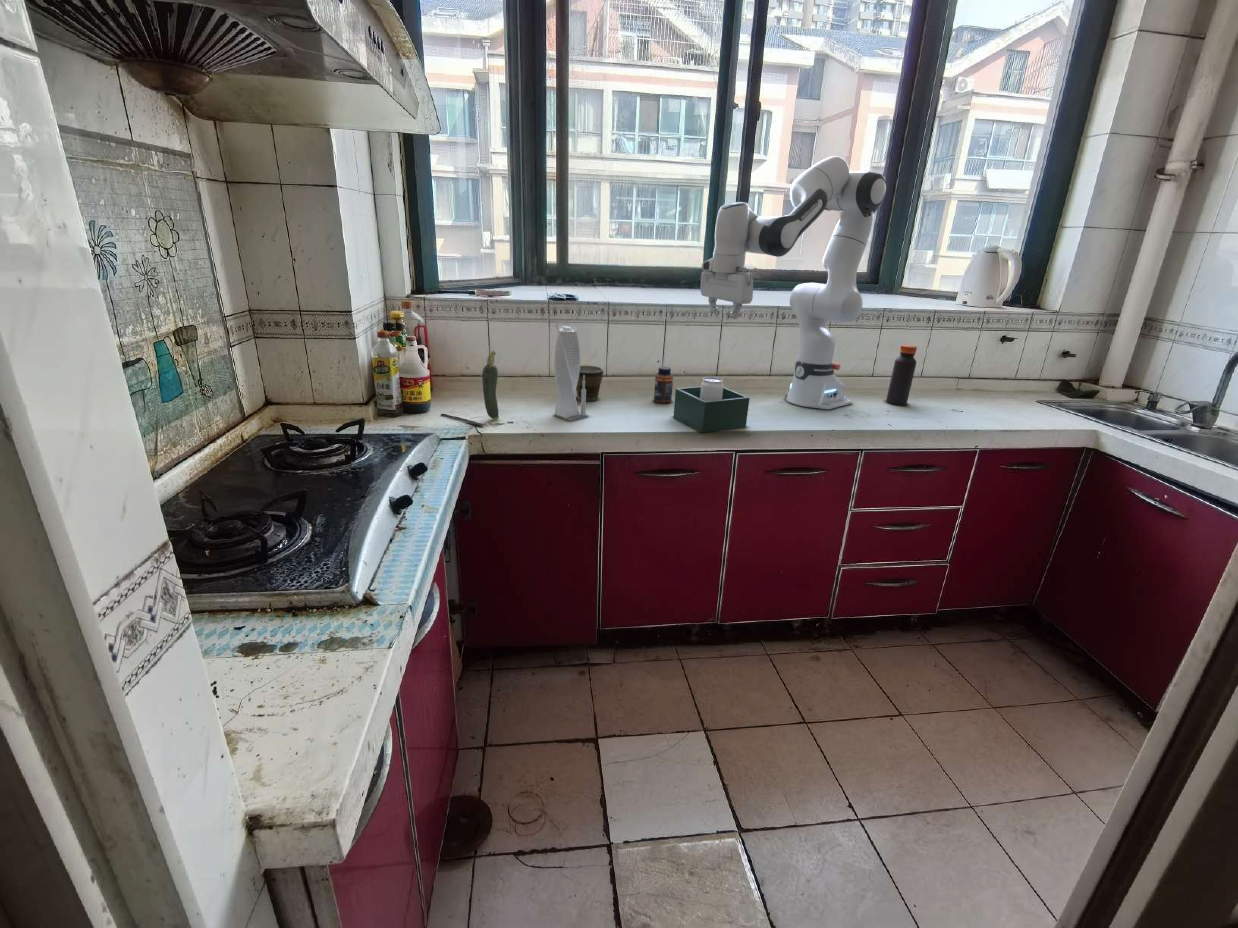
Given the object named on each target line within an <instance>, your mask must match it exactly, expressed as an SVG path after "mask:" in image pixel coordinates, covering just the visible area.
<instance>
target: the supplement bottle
mask: <svg viewBox="0 0 1238 928" xmlns="http://www.w3.org/2000/svg"><path fill="white" fill-rule="evenodd" d="M671 372H672V368H671V367H670V366H659V367H658V372H657V373H656V374H655V376H654V391H653V393H654V394H653V401H654V402H656V403H658V404H669V403H671V402H672V400H673V388H674V387H673V386H674V375H673V374H672V373H671Z"/></svg>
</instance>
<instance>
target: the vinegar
mask: <svg viewBox="0 0 1238 928" xmlns="http://www.w3.org/2000/svg"><path fill="white" fill-rule="evenodd" d="M917 349H918V347H917V346H916V345H912V344H901V345H900V349H899V354H900V355H899V356H897V357H896V358H895V360H894V363H893V367H892V372H891V376H890V380H889V381H890V382H889V386H888V390H887V395H886V399H885V401H886V403H887V404H891V405H895V406H906V405H907V404H908V400H909V396H910V392H911V389H912V388H911V387H912V383H913V379H914V375H915V371H916V367H917V360H916V359H915V355H916V354H917V353H916V352H917Z"/></svg>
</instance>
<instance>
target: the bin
mask: <svg viewBox="0 0 1238 928" xmlns="http://www.w3.org/2000/svg"><path fill="white" fill-rule="evenodd" d="M700 392H701V385H700V386H699V385H698V386H688V387H687V386H686V387H677V388H675V393H674V404H673V405H674V407H673V418H674V419H676V420H678V421H680V422H681V423H682V424H685V425H687V426H689V427H690V428H692V429H694V430H696V431H698V432H700V433H702V434H704V433H711V432H718V431H726V430H734V429H741V428H746V427H747V423H748V422H747V421H748V413H749V407H750V398H751V397H749V396H747V395H744V394H742V393H739V392H737V391H735V390H733V389H730V388H727V387H725V386H723V393H722V400H716V401H704V400H702V399H700Z"/></svg>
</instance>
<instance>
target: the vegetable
mask: <svg viewBox="0 0 1238 928" xmlns="http://www.w3.org/2000/svg"><path fill="white" fill-rule="evenodd" d="M496 353H497V352H496V351H494V350H492V351H491V352H490V353H489V354H488V356H487V359H486V365H485V366H484V367H483V370H482V375H481V376H482V393H483V399H484V406H485V411H486V414H487V415H488V417H489V418H491V420H493V421H494V420H495V421H498V419H499V417H500V416H499V413H500V412H499V406H498V405H499V404H498V399H497V386H498V385H497V384H498V379H499V370H498V367H497V366H496V365H495V364H494V363H495V356H496Z"/></svg>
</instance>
